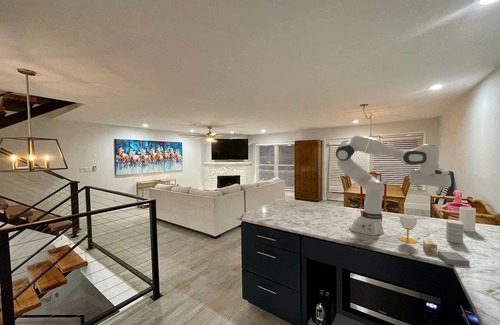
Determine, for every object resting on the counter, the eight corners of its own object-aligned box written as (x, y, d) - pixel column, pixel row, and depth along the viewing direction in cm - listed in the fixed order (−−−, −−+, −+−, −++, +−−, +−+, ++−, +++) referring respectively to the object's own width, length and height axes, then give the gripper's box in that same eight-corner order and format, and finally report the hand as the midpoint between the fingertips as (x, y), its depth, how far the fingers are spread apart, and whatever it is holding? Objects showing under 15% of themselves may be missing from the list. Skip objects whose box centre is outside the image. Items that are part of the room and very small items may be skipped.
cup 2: (462, 230, 150) (463, 209, 150) (456, 226, 158) (457, 206, 157) (477, 232, 148) (478, 210, 147) (470, 228, 155) (471, 206, 154)
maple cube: (426, 251, 122) (426, 243, 122) (423, 248, 126) (423, 240, 126) (437, 253, 120) (437, 244, 120) (433, 249, 124) (433, 241, 124)
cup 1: (399, 241, 136) (399, 217, 135) (398, 236, 144) (399, 213, 143) (417, 244, 131) (417, 219, 130) (415, 239, 139) (416, 215, 138)
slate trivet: (448, 264, 109) (448, 259, 109) (437, 256, 118) (437, 250, 117) (469, 266, 107) (469, 260, 106) (456, 257, 115) (457, 252, 115)
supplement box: (445, 237, 141) (446, 218, 140) (461, 240, 136) (462, 221, 135) (446, 241, 135) (447, 222, 134) (463, 244, 130) (463, 224, 129)
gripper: (407, 169, 137) (407, 190, 138) (447, 172, 119) (446, 196, 119) (412, 169, 140) (412, 189, 141) (452, 171, 121) (452, 194, 122)
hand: (428, 192), depth 130 cm, fingers open, 8 cm apart
